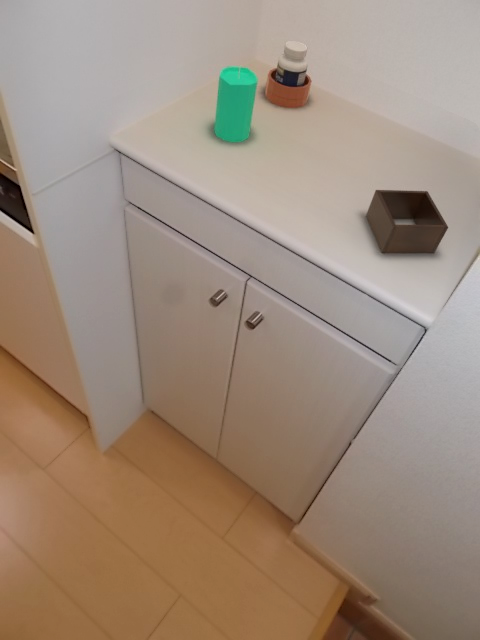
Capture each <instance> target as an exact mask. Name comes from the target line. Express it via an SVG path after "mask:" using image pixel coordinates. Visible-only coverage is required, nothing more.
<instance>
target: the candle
mask: <svg viewBox="0 0 480 640" xmlns="http://www.w3.org/2000/svg"><path fill="white" fill-rule="evenodd" d="M218 78H219V79H218V86H217V96H216V97H217V98H216V107H215V118H214V120H215V121H214V128H213V132H214V134H215V135H216V137H217V138H218V139H220V140H223V141H224V142H230V143H242V142H244V141H246V140H248V139H249V136H250V133H251V126H252V120H253V114H254V113H253V112H254V108H255V107H254V106H255V102H256V101H255V100H256V94H257V93H256V92H257V88H258V87H257V86H258V81H259V79H258V77H257V75H256V73H255V72H253V70H251V69H250V68H249V67H245V66H244V67H243V66H242V65H239V66H227V67H224V68H222V69H221V71H220V73H219V76H218Z"/></svg>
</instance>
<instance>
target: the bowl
mask: <svg viewBox="0 0 480 640" xmlns="http://www.w3.org/2000/svg"><path fill="white" fill-rule="evenodd" d="M276 71H277V67H275V68H273V69H270V70H269V71H268V74H267V78H266V84H265V90H264V96H265V98H266V99H267V100H268V101H269V102H270V103H272V104H273V105H276V106H277V107H278V106H279V107H282V108H288V109H296V108H301V107H304V106H305V105H306V104H307V102H308V99H309V95H310V91H311V86H312V78H311V77H310V75H308V74H307V73H306V76H305V80H304V85H303V87H288V86H284V85H281V84H279V83H277V82H276V81H275V76H276Z"/></svg>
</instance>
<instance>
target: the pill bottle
mask: <svg viewBox="0 0 480 640" xmlns="http://www.w3.org/2000/svg"><path fill="white" fill-rule="evenodd" d="M307 53H308V46H307V45H306V44H305V43H303V42H302V41H297V40H289V41H286V42H285V44H284V48H283V54H281V55H280V56H279V57H278V60H277V66H276V68H277V71H276V76H275V81H276V82H277V83H279V84H281V85H284V86H288V87H303V85H304V80H305V76H306V74H307V71H308V66H309V63H308V60H307V58H306V56H307Z"/></svg>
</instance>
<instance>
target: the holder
mask: <svg viewBox="0 0 480 640" xmlns="http://www.w3.org/2000/svg"><path fill="white" fill-rule="evenodd" d="M365 219H366V221H367V223H368V226H369V228H370V230H371V232H372V234H373V237H374V239H375V241H376V243H377V246H378V248H379V251H380V253H381V254H435V252H436V251H437V249H438V247H439V246H440V244H441V242H442V240H443V239H444V236H445V235H446V233H447V231H448V229H449V225H448V224H447V222H446V220H445V219H444V217H443V215H442V214H441V212H440V210H439V209H438V207H437V205H436V204H435V201H434V200H433V199H432V196H431V195H430V193H429V192H428V190H401V189H400V190H395V189H394V190H393V189H375V191H374V194H373V196H372V199H371V200H370V204H369V205H368V209H367V211H366V214H365ZM395 220H413V221H414V224H396V222H395Z"/></svg>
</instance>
